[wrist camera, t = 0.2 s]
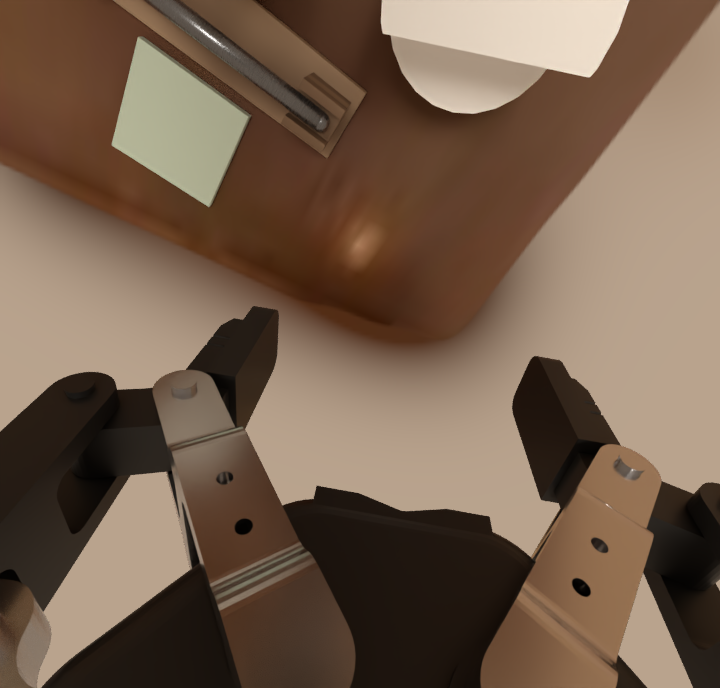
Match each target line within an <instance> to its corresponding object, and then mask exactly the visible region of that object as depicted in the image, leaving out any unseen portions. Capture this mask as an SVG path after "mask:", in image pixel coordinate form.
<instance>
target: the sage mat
mask: <svg viewBox="0 0 720 688" xmlns="http://www.w3.org/2000/svg"><path fill="white" fill-rule="evenodd" d="M250 117H251V115H250V114H249V113H247V112H246V111H245V110H243V109H242V108H240V107H239V106H238V105H236V104H235V103H234V102H232V101H231V100H229V99H228V98H227V97H225V96H224V95H223V94H221V93H220V92H218V91H217V90H216V89H214V88H213V87H212V86H210V85H209V84H207V83H206V82H205V81H203V80H202V79H201V78H199V77H198V76H196V75H195V74H194V73H192V72H191V71H190V70H188V69H187V68H185V67H184V66H183V65H181V64H180V63H179V62H177V61H176V60H174V59H173V58H172V57H170V56H169V55H168V54H166V53H165V52H163V51H162V50H161V49H159V48H158V47H157V46H155V45H154V44H153V43H151V42H150V41H148V40H147V39H146V38H144V37H143V36H142V37H138V39H137V43H136V47H135V51H134V55H133V60H132V64H131V68H130V72H129V76H128V80H127V84H126V88H125V92H124V96H123V101H122V105H121V109H120V113H119V117H118V121H117V125H116V129H115V133H114V137H113V142H112V146H114V147H115V148H117V149H118V150H120V151H122V152H123V153H125V154H126V155H128V156H129V157H131V158H133V159H134V160H136V161H137V162H139V163H140V164H142V165H144V166H145V167H147V168H148V169H150V170H151V171H153V172H155V173H156V174H158V175H159V176H161V177H163V178H164V179H166V180H167V181H169V182H170V183H172V184H174V185H175V186H177V187H178V188H180V189H181V190H183V191H185V192H186V193H188V194H189V195H191V196H192V197H194V198H196V199H197V200H199V201H200V202H202V203H203V204H205V205H207V206H208V207H210V206H211V205H212V203H213V201H214V198H215V196H216V194H217V192H218V189H219V187H220V185H221V183H222V180H223V178H224V176H225V174H226V171H227V169H228V167H229V165H230V162H231V160H232V158H233V156H234V153H235V151H236V149H237V147H238V144H239V142H240V140H241V138H242V135H243V133H244V131H245V129H246V126H247V124H248V122H249V120H250Z"/></svg>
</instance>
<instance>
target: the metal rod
mask: <svg viewBox="0 0 720 688" xmlns="http://www.w3.org/2000/svg"><path fill="white" fill-rule="evenodd" d="M143 1H145V2H146V3H147V4H149V5H150V6H151V7H153V8H154V9H155V10H157V11H158V12H159V13H161V14H162V15H163V16H165V17H166V18H167V19H169V20H170V21H171V22H173V23H174V24H175V25H177V26H178V27H179V28H181V29H182V30H183V31H185V32H186V33H187V34H189V35H190V36H191V37H192V38H194V39H195V40H196V41H198V42H199V43H200V44H202V45H203V46H204V47H206V48H207V49H208V50H210V51H211V52H212V53H214V54H215V55H216V56H218V57H219V58H220V59H222V60H223V61H224V62H226V63H227V64H228V65H230V66H231V67H232V68H234V69H235V70H236V71H238V72H239V73H240V74H242V75H243V76H244V77H245V78H247V79H248V80H249V81H251V82H252V83H253V84H255V85H256V86H257V87H259V88H260V89H261V90H263V91H264V92H265V93H267V94H268V95H269V96H271V97H272V98H273V99H275V100H276V101H277V102H279V103H280V104H281V105H283V106H284V107H285V108H287V109H288V110H289V111H291V112H292V113H293V114H295V115H296V116H297V117H298V118H300V119H301V120H302V121H304V122H305V123H306V124H308V125H309V126H310V127H312V128H313V129H314V130H316V131H318V132H324V131H326V130H327V129H328V127H329V124H330V119H329V116H328V115H327V114H326V113H325V112H324V111H323V110H322V109H320V108H319V107H318V106H316V105H315V104H314V103H312V102H311V101H310V100H309V99H307V98H306V97H305V96H303V95H302V94H301V93H300V92H298V91H297V90H296V89H294V88H293V87H292V86H291V85H289V84H288V83H287V82H285V81H284V80H283V79H282V78H280V77H279V76H278V75H276V74H275V73H274V72H273V71H271V70H270V69H269V68H267V67H266V66H265V65H264V64H262V63H261V62H260V61H258V60H257V59H256V58H254V57H253V56H252V55H251V54H249V53H248V52H247V51H245V50H244V49H243V48H242V47H240V46H239V45H238V44H236V43H235V42H234V41H233V40H231V39H230V38H229V37H227V36H226V35H225V34H224V33H222V32H221V31H220V30H218V29H217V28H216V27H215V26H213V25H212V24H211V23H209V22H208V21H207V20H206V19H204V18H203V17H202V16H200V15H199V14H198V13H196V12H195V11H194V10H193V9H191V8H190V7H189V6H187V5H186V4H185V3H184V2H182V1H181V0H143Z"/></svg>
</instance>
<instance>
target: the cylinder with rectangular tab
mask: <svg viewBox="0 0 720 688" xmlns="http://www.w3.org/2000/svg"><path fill="white" fill-rule="evenodd" d="M628 2H629V0H382V10H381V26H382V32H383V34H387V35H391V40H392V47H393V51H394V53H395V56H396V58H397V61H398V64H399V66H400V69H401V71H402V73H403V75H404V76H405V77H406V79H407V80H408V82H409V83H410V84H411V86H412V87H413V89H414V90H415V91H416V92H417V93H418V94H419V95H421V96H422V97H423V98H424V99H426V100H427V101H428V102H430V103H431V104H432V105H434V106H437V107H439V108H442V109H445V110H447V111H450V112H453V113H470V114H475V113H479V112H483V111H488V110H492V109H496V108H498V107H500V106H502V105H504V104H506V103H508V102H510V101H512V100H513V99H515V98H517V97H519V96H520V95H521V94H522V93H523V92H525V91H526V90H527V89H528V88H529V87H530V86H532V85H533V84H534V83H535V82H536V81H537V80H539V78H540V77H541V76H542V74H543V73H544V72H545V71H546V69H551V70H556V71H561V72H565V73H570V74H575V75H579V76H584V77H589V78H590V77H591V76H592V74H593V73H594V72H595V71H596V70H597V68H598V67H599V65H600V63H601V61H602V60H603V58H604V56H605V54H606V53H607V51H608V49H609V47H610V46H611V44H612V42H613V40H614V39H615V37H616V35H617V33H618V31H619V28H620V25H621V22H622V19H623V16H624V14H625V11H626V8H627V5H628Z"/></svg>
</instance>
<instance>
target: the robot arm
mask: <svg viewBox="0 0 720 688" xmlns="http://www.w3.org/2000/svg"><path fill="white" fill-rule="evenodd" d="M278 319H279V315H278V311H277V310H273V309H268V308H262V307H256V306H253V307H252V308H251V310H250V311H249V313H248V314H247V315H246V317H245V318H244V319H243V320H240V319H232V320H230V321H228V322H227V323H225V324H223V325H221V326H220V327H219V329H218V330H217V331H216V332H215V334H214V336H213V337H212V338H211V339H210V340H209V341H208V343H207V345H205V346H204V348H203V349H202V350H201V351H200V353H199V354H198V355H197V356H196V358H195V359H194V360H193V361H192V363H191V364H190V365H189V366H188V368H187V369H186V370H180V371H176V372H172V373H169V374H167V375H165V376H163V377H162V378H160V379H159V380H158V381H157V382H156V383H155V384H154V386H153V388H146V389H126V390H117V388H116V384H115V381H114V379H113V378H112V377H110V376H109V375H106V374H103V373H98V372H84V373H78V374H74V375H70V376H67V377H65V378H62V379H60V380H58V381H57V382H55V383H53V384H52V385H51V386H50V387H49V388H47V389H46V390H45V391H44V392H43V393H42V394H41V395H40V396H39V397H38V398H37V399H36V400H34V401H33V402H32V403H31V404H30V405H29V406H28V407H27V408H26V409H25V410H23V411H22V412H21V413H20V414H19V415H18V416H17V417H16V418H15V419H14V420H12V421H11V422H10V423H9V424H8V425H7V426H6V427H5V428H4V429H3V430H2V431H1V432H0V688H37V679H38V674H39V670H40V667H41V664H42V662H43V660H44V658H45V655H46V653H47V651H48V648H49V645H50V641H51V628H50V624H49V622H48V620H47V618H46V616H45V615H44V613H43V611H44V610H45V608H46V607H47V605H48V604H49V602H50V600H51V599H52V597H53V596H54V594H55V593H56V591H57V590H58V588H59V586H60V585H61V583H62V582H63V580H64V578H65V577H66V575H67V574H68V572H69V571H70V569H71V567H72V566H73V564H74V563H75V561H76V560H77V558H78V557H79V555H80V553H81V552H82V550H83V549H84V547H85V546H86V544H87V542H88V541H89V539H90V538H91V536H92V535H93V533H94V531H95V530H96V528H97V527H98V525H99V524H100V522H101V521H102V519H103V517H104V516H105V514H106V513H107V511H108V509H109V508H110V506H111V505H112V503H113V502H114V500H115V499H116V497H117V495H118V494H119V492H120V491H121V489H122V488H123V486H124V484H125V483H126V481H127V480H128V478H129V477H130V475H135V474H146V473H155V472H166V473H167V477H168V481H169V485H170V489H171V492H172V496H173V500H174V504H175V508H176V511H177V515H178V519H179V523H180V527H181V531H182V535H183V540H184V545H185V550H186V554H187V558H188V563H189V567H190V570H189V571H188V572H187V573H185V574H184V575H183V576H181V577H180V578H179V579H177V580H176V581H175V582H173V583H172V584H170V585H169V586H168V587H166V588H165V589H164V590H162V591H161V592H160V593H158V594H157V595H156V596H154V597H153V598H152V599H150V600H149V601H148V602H146V603H145V604H144V605H142V606H141V607H140V608H138V609H137V610H136V611H134V612H133V613H132V614H130V615H129V616H128V617H126V618H125V619H123V620H122V621H121V622H119V623H118V624H117V625H115V626H114V627H113V628H111V629H110V630H109V631H108V632H106V633H105V634H103V635H102V636H101V637H99V638H98V639H97V640H95V641H94V642H93V643H91V644H90V645H89V646H87V647H86V648H85V649H83V650H82V651H80V652H79V653H78V654H76V655H75V656H74V657H73V658H71V659H70V660H69V661H68V662H67V663H65V664H64V665H63V666H62V667H61V668H60V669H59V670H58V671H57V672H56V673H55V674H54V675H53V676H52V677H51V678H50V679H49V680H48V681H47V682H46V683H45V684H44V685H43V686H42V688H647V687H646V686H645V685H644V684H643V682H642V681H641V680H640V679H639V678H638V677H637V676H636V675H635V673H634V672H633V671H632V670H631V669H630V668H629V667H628V666H627V665H626V663H625V662H624V661H623V660H622V659H621V658H620V657H619V655H618V652H619V649H620V646H621V643H622V639H623V636H624V633H625V629H626V626H627V623H628V620H629V617H630V613H631V610H632V607H633V603H634V600H635V597H636V593H637V590H638V587H639V584H640V581H641V577H642V574H643V573H644V575H645V577H646V579H647V582H648V584H649V587H650V589H651V591H652V594H653V596H654V598H655V600H656V602H657V605H658V607H659V610H660V612H661V614H662V617H663V619H664V621H665V623H666V626H667V628H668V630H669V633H670V635H671V637H672V640H673V642H674V644H675V647H676V649H677V651H678V654H679V656H680V658H681V660H682V663H683V665H684V667H685V670H686V672H687V674H688V677H689V679H690V681H691V684H692V686H693V688H720V591H719V589H718V587H717V585H716V584H715V583H716V582H717V581H718V580H720V484H717V483H705V484H703V485H702V486H701V487H700V488H699V489H698V490H697V491H696V492H695V493H694V494H692V493H690V492H687V491H685V490H682V489H680V488H677V487H675V486H672V485H670V484H667V483H665V482H662V481H661V476H660V474H659V472H658V471H657V469H656V468H655V467H654V466H653V465H652V464H651V463H650V462H649V461H648V460H647V459H646V458H644V457H643V456H642V455H640V454H638V453H637V452H635V451H633V450H631V449H629V448H626V447H623V446H621V445H620V443H619V442H618V440H617V438H616V437H615V435H614V433H613V432H612V430H611V428H610V427H609V425H608V423H607V422H606V420H605V419H604V417H603V416H602V415H601V412H600V410H599V408H598V407H597V405H595V402H594V400H593V398H592V397H591V395H590V393H589V392H588V390H586V389H585V388H584V387H583V386H582V385H581V384H580V383H579V382H577V380H575V379H572V378H571V377H570V376H569V374H568V372H567V370H566V368H565V367H564V365H563V363H562V362H561V361H560V360H555V359H550V358H543V357H538V356H534V357H533V358H532V359H531V360H530V362H529V364H528V366H527V368H526V371H525V373H524V375H523V377H522V379H521V382H520V384H519V386H518V388H517V391H516V393H515V395H514V399H513V406H512V409H513V415H514V418H515V421H516V424H517V428H518V430H519V433H520V437H521V440H522V443H523V446H524V449H525V452H526V455H527V458H528V461H529V464H530V468H531V470H532V474H533V477H534V480H535V483H536V486H537V489H538V492H539V495H540V498H541V500H544V501H550V502H555V503H559V505H560V510H559V511H558V513H557V514H556V516H555V518H554V519H553V521H552V523H551V524H550V526H549V528H548V530H547V531H546V533H545V535H544V536H543V538H542V539H541V541H540V543H539V544H538V546H537V548H536V550H535V551H534V553H533V555H532V557H530V556H529V555H527V554H526V553H525V552H524V551H522V550H521V549H520V548H519V547H518V546H516V545H514V544H513V543H512V542H510V541H508V540H507V539H505V538H503V537H501V536H499V535H497V534H496V533H493V532H492V527H491V522H490V517H488V516H483V515H476V514H471V513H466V512H460V511H455V510H449V509H440V510H423V511H400V510H398V509H395V508H393V507H390V506H388V505H386V504H383V503H381V502H378V501H376V500H374V499H371V498H369V497H367V496H364V495H362V494H359V493H354V492H348V491H343V490H337V489H332V488H326V487H321V486H317V487H316V491H315V496H314V499H309V500H302V501H295V502H292V503H289V504H285V505H283V506H282V504H281V502H280V500H279V498H278V496H277V494H276V492H275V490H274V488H273V486H272V484H271V482H270V480H269V478H268V475H267V473H266V471H265V469H264V467H263V465H262V463H261V461H260V459H259V457H258V455H257V453H256V451H255V449H254V447H253V445H252V443H251V441H250V439H249V437H248V435H247V432H246V431H245V428H246V426H247V423H248V422H249V420H250V417H251V415H252V413H253V411H254V409H255V407H256V405H257V403H258V401H259V399H260V397H261V395H262V393H263V390H264V388H265V386H266V384H267V382H268V380H269V378H270V376H271V374H272V372H273V369H274V366H275V363H276V358H277V345H278Z"/></svg>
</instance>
